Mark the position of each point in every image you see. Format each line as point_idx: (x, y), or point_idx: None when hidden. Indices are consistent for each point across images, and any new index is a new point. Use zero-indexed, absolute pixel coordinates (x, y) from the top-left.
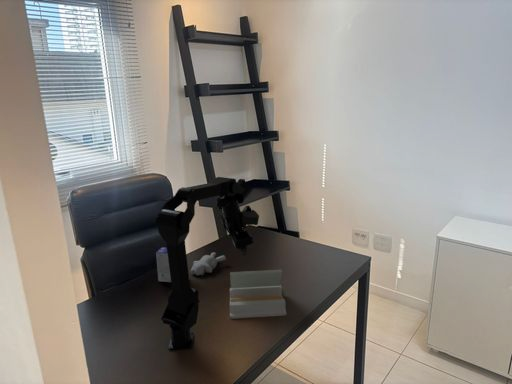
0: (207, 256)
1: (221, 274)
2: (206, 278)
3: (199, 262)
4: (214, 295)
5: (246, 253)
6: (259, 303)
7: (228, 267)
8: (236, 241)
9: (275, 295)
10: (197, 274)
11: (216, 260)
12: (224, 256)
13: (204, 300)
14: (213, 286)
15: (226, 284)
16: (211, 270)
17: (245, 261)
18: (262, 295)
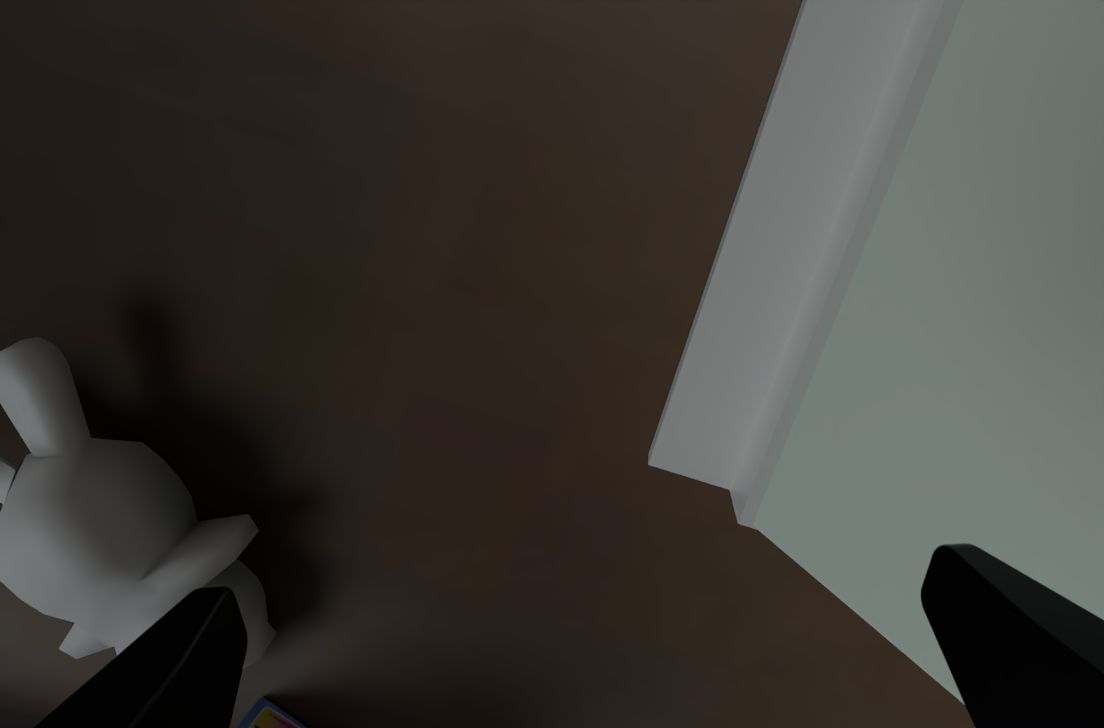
0: (22, 555)
1: (288, 425)
2: (325, 565)
3: (113, 632)
4: (642, 588)
5: (1015, 572)
6: None
7: (163, 321)
8: None
9: None
10: (269, 641)
11: (77, 452)
12: (18, 361)
13: (686, 678)
14: (486, 552)
15: (491, 439)
16: (241, 525)
17: (65, 102)
18: None
